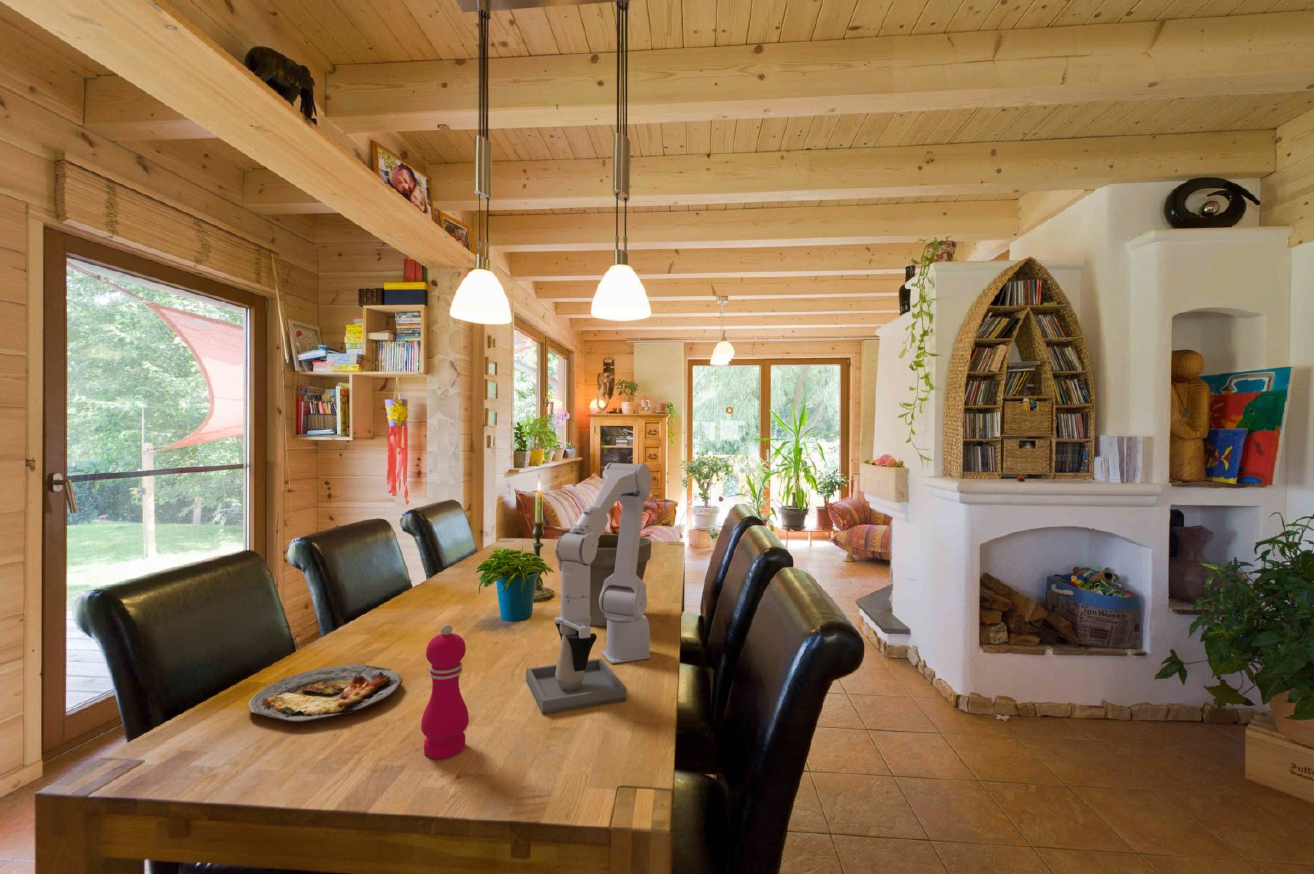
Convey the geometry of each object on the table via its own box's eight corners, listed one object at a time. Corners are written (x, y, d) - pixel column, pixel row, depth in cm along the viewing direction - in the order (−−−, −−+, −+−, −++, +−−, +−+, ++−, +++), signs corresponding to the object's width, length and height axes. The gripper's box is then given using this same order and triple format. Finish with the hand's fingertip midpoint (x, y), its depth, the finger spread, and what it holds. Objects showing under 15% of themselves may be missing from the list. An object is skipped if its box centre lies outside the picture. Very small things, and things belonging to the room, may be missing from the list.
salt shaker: (577, 694, 115) (578, 626, 115) (550, 691, 117) (550, 624, 117) (589, 682, 121) (589, 618, 121) (562, 679, 123) (563, 615, 122)
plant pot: (569, 604, 179) (570, 531, 179) (652, 606, 178) (653, 533, 178) (551, 632, 154) (552, 547, 154) (647, 634, 153) (649, 549, 153)
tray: (600, 669, 130) (601, 658, 130) (626, 700, 115) (626, 687, 115) (525, 680, 123) (526, 668, 123) (542, 714, 109) (542, 700, 109)
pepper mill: (428, 738, 100) (429, 617, 100) (472, 737, 101) (474, 617, 100) (414, 761, 93) (416, 632, 93) (462, 760, 93) (464, 631, 93)
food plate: (426, 683, 121) (426, 666, 121) (329, 740, 99) (328, 719, 99) (330, 669, 129) (330, 653, 129) (221, 719, 107) (220, 699, 107)
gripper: (547, 587, 124) (546, 653, 124) (564, 606, 111) (563, 680, 111) (580, 584, 127) (579, 648, 127) (601, 602, 114) (600, 674, 114)
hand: (574, 663), depth 119 cm, fingers open, 7 cm apart
